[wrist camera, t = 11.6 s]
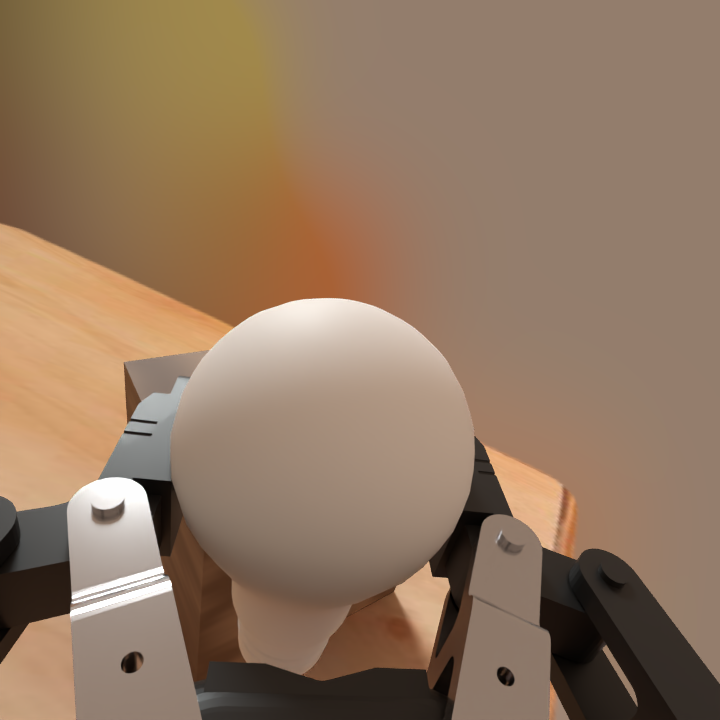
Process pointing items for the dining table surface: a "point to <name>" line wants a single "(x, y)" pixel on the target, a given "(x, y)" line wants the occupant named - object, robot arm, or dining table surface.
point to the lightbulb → (319, 466)
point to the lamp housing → (195, 544)
